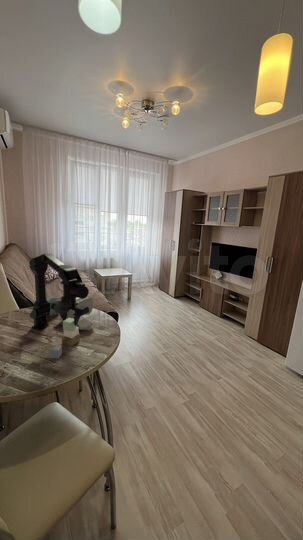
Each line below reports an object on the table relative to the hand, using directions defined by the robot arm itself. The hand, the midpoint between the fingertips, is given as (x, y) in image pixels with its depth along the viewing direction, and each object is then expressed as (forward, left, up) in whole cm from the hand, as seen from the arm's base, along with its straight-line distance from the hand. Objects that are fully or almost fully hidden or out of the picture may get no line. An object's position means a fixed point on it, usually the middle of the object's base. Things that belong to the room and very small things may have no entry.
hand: (70, 324), depth 109 cm
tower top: (0, 0, -6) cm, 6 cm away
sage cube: (0, 0, -2) cm, 2 cm away
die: (-2, +15, -10) cm, 18 cm away
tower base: (0, 0, -10) cm, 10 cm away
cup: (-32, +22, -10) cm, 40 cm away
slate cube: (+2, -12, -10) cm, 16 cm away
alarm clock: (-16, +25, -10) cm, 31 cm away
